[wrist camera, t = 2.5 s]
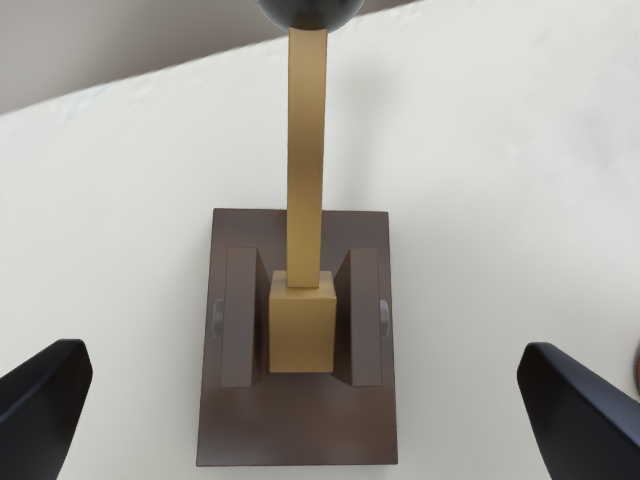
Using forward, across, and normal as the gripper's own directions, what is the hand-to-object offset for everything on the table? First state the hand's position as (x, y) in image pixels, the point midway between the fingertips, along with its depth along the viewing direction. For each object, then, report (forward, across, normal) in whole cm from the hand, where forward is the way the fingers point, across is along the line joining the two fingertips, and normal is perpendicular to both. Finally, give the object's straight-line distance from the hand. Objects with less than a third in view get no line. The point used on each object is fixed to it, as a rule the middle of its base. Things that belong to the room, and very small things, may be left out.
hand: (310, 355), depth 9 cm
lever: (+8, 0, -2) cm, 9 cm away
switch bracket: (+10, 0, +9) cm, 14 cm away
